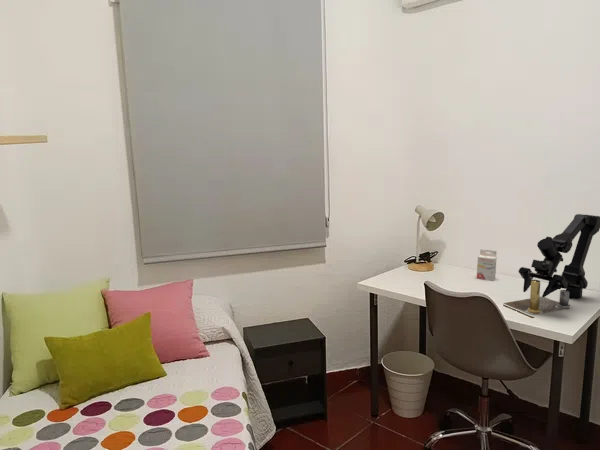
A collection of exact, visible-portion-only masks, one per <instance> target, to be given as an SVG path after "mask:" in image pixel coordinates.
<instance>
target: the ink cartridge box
mask: <svg viewBox="0 0 600 450" xmlns="http://www.w3.org/2000/svg"><path fill="white" fill-rule="evenodd" d="M479 251H480V253H479V255H478V256H477V262H476V263H477V265H476V266H477V267H476V279H478V280H486V281H487V280H488V281H494V280H495V279H496V276H497V275H496V273H497V251H496V250H492V249H490V250H489V249H479Z"/></svg>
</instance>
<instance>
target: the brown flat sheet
mask: <svg viewBox="0 0 600 450" xmlns="http://www.w3.org/2000/svg"><path fill="white" fill-rule="evenodd" d="M558 303H559V301H555V300H553V299H550V298H547V297H542V296H540V297H539V308H540V309H541V312H540V313H530V312H528V308H529V307H530V300H528V298H527V299H523V300H522V299H521V300H515V301H511V302H509V303H508V302H505V303H503V305H502V307H505V308H506V309H507V308H508V309H509V310H512V311H514V312H516V311H517V313H519V314H521V315H523V316H526V317H529V318H531V319H534V318H535V317H534V316H533V315H541V314H545V313H547V311H548V312H554V310H553V309H554V308H555V312H557V311H559V310H564V311H569V310H572V309H573V307H572V306H570V309H561V308H558V307H557V304H558ZM525 304H526V306H525ZM551 305H552V306H551ZM526 307H528V308H526ZM541 307H543V308H541Z"/></svg>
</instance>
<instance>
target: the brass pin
mask: <svg viewBox="0 0 600 450" xmlns="http://www.w3.org/2000/svg"><path fill="white" fill-rule="evenodd" d="M540 292H541V280H539V279H532V280H531V285H530V294H529V295H530V297H529V301H530V303H529V305H530V307H529V306H528V307H527V309H528V312H530V313H540V312H541V309H542V308H540V307H539V306H540V304H539V303H540V302H539V301H540V298H541V296H540V294H541V293H540ZM539 297H540V298H539ZM528 312H527V313H528ZM530 313H529V314H530Z"/></svg>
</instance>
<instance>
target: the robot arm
mask: <svg viewBox="0 0 600 450" xmlns="http://www.w3.org/2000/svg"><path fill="white" fill-rule="evenodd" d="M599 231H600V216H599V215H591V214H582V213H581V214H580V213H578V214H575V215H574V217H573V219H572V220H571V222H569V224H568V225H567V227H565V229H564V230H563V232H562V233H559V234H557V235H555V236H554V237H551V236H546V237H545V238H543V239H540V240H539V241H538V242H537V244H536V245H537V248H538V249H539V251H540V253H541V254H542V256H543V257H544V258H543V260H538V259H532V261H531V262H532V263H531V266H530V268H528V267H524V266H521V267H519V269H518V273H519V275H520V276H521V278H522V279H523V287H522V288H523V289H522V292H523V293H526V292H527V291H528V289H529V288H531V280H534V278H535V279H537V280H539V279H540V280H542V281H548V284H547V286H546V288H545V290H544V291H543V292H542V295H541V298H542V297H543V298H546V297H547V296H549V295H550V294H551V293H554V292H556V291H557V290H567V291H569V300H572V299H573V300H580V299H581V298H582V297H583V290H584V289H585V290H587V287H588V284H589V283H588V280H587V279H586V277H585V276H586V271H585V268H584V264H585V261H586V258H587V256H588V253H589V249H590V247H591V243H592V240H593V237H594V235H596V234H597V233H599ZM578 234H579V238H578V240H577V243H576V246H575V250H574V252H573V255H572V258H571V262H570V263H569V264H565V265H564V267H563V270H562V273H561V274H555V273H557V271H558V270H557V268H558V266H559V265H560V263H561V262H564V258H563V255H562V254H563V253H564V254H568V253H569V252H570V251H571V250H572V247H573V241H574V240H575V238H576V237H577V236H578ZM561 253H562V254H561ZM531 268H534V272H533V271H532V269H531Z"/></svg>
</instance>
